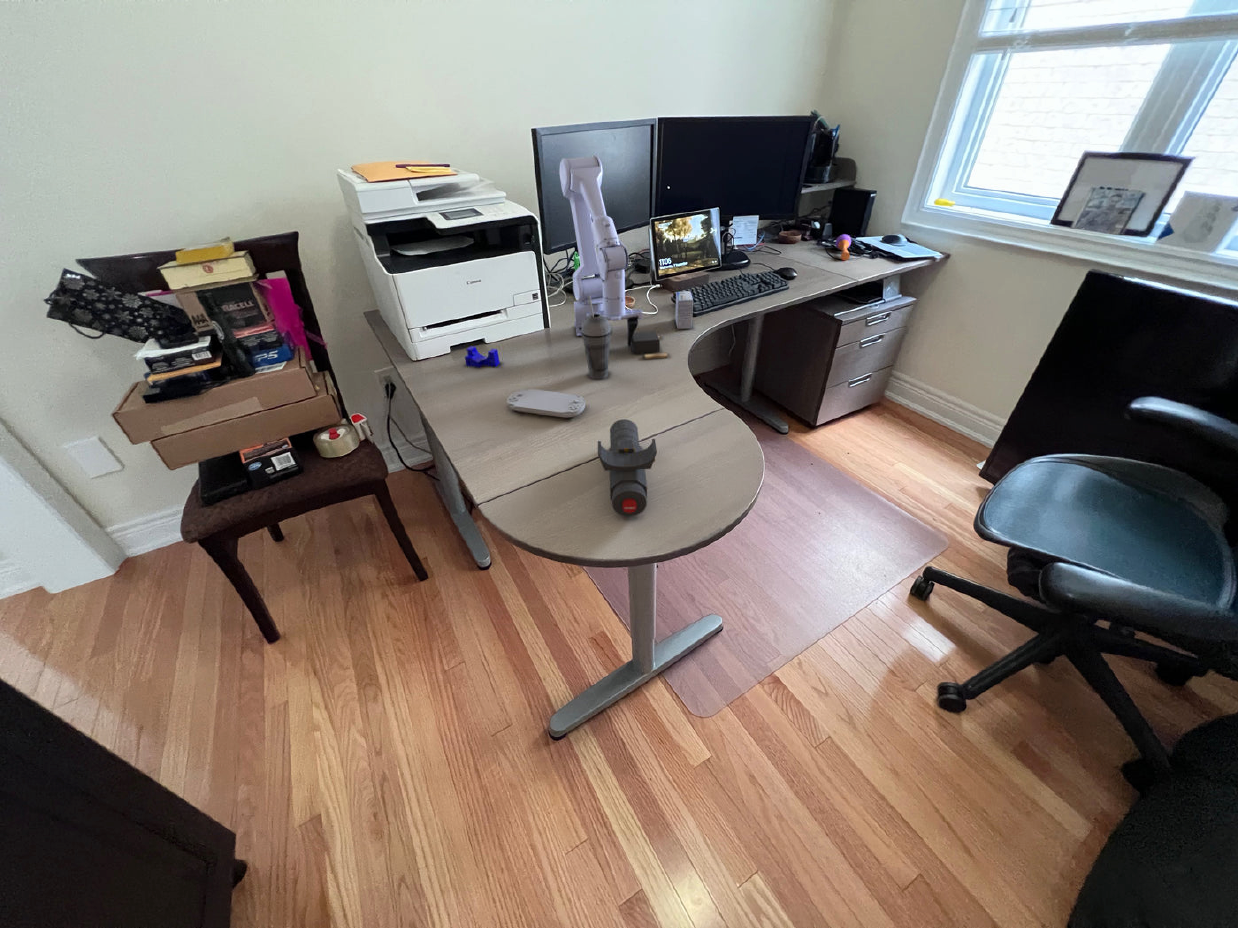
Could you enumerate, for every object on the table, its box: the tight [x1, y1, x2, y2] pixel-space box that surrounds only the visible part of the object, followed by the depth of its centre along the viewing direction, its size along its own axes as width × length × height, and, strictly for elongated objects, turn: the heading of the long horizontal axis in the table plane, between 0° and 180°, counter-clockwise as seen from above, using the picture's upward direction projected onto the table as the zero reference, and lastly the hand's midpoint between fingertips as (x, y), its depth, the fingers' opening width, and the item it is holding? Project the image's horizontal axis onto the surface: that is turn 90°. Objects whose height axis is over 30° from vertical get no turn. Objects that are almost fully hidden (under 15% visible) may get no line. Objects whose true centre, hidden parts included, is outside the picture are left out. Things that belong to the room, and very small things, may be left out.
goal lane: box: [643, 334, 668, 360], centre depth 136 cm, size 6×14×1 cm, turn 6°
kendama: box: [835, 234, 852, 262], centre depth 202 cm, size 6×6×20 cm
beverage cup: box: [581, 296, 612, 380], centre depth 118 cm, size 7×7×20 cm
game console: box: [506, 388, 586, 419], centre depth 111 cm, size 18×2×8 cm
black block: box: [631, 330, 661, 354], centre depth 135 cm, size 7×6×4 cm
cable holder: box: [464, 345, 501, 368], centre depth 129 cm, size 8×4×4 cm, turn 71°
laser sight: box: [597, 418, 658, 517], centre depth 88 cm, size 10×22×10 cm, turn 2°
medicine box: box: [674, 290, 694, 330], centre depth 146 cm, size 8×4×9 cm, turn 179°
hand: (615, 345), depth 135 cm, fingers open, 7 cm apart
